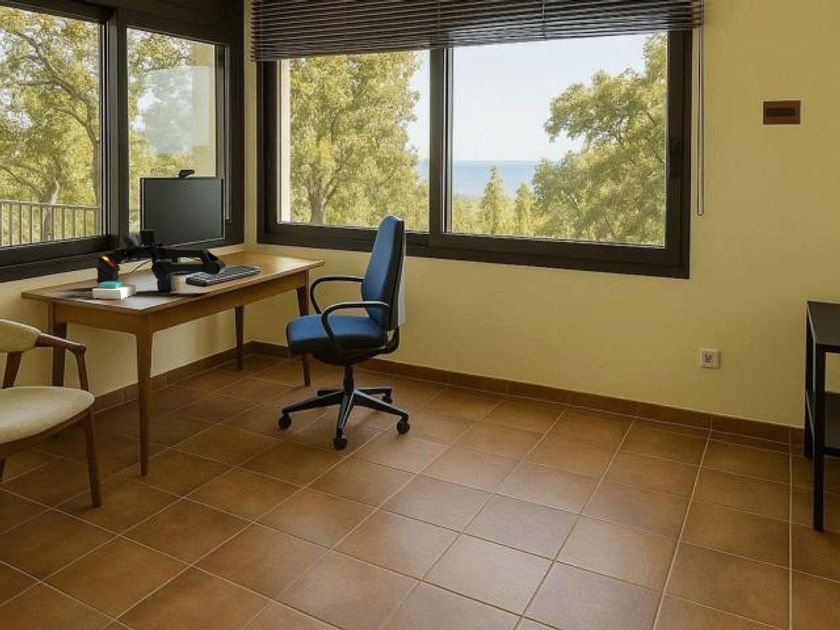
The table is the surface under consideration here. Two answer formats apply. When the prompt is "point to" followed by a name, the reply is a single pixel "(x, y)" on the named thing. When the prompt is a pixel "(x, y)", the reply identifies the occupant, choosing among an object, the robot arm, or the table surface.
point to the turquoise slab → (111, 284)
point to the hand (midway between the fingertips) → (110, 253)
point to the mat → (86, 294)
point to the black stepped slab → (107, 270)
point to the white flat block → (114, 292)
